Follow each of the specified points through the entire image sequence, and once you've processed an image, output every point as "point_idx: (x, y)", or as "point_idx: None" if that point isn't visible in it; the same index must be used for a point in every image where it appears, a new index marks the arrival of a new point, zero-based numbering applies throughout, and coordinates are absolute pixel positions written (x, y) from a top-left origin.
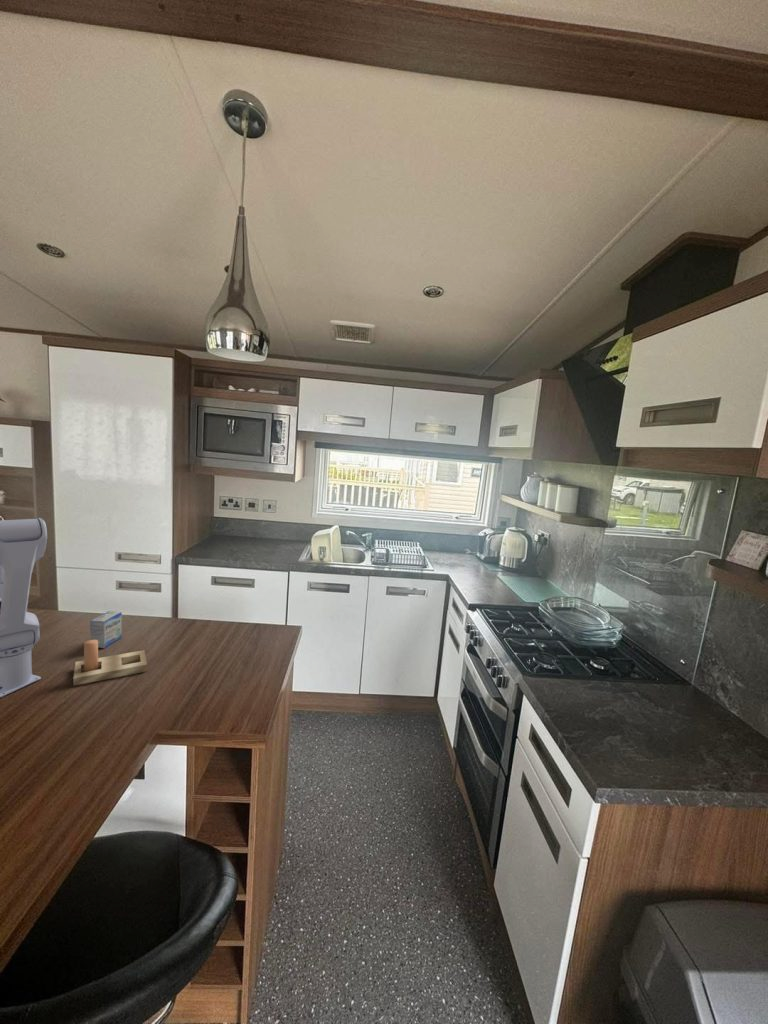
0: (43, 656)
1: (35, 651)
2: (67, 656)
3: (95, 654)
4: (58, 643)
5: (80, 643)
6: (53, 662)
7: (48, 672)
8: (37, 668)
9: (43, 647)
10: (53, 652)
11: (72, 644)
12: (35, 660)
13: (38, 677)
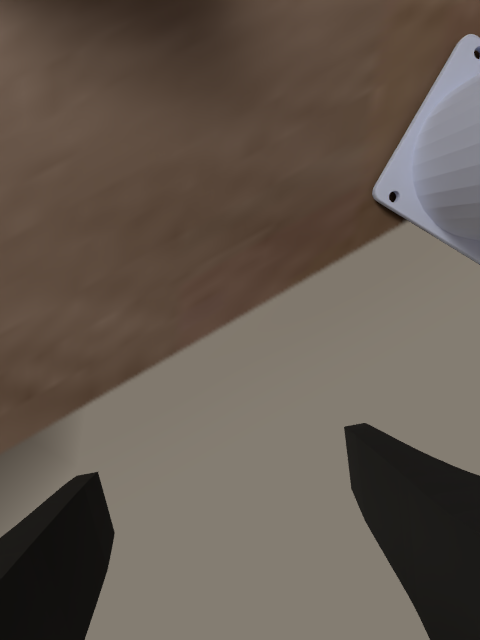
0: (191, 170)
1: (127, 248)
2: (195, 24)
3: None
4: (15, 173)
5: (5, 26)
6: (269, 73)
7: (386, 40)
8: (332, 127)
9: (75, 232)
10: (140, 139)
11: (24, 75)
12: (238, 188)
13: (470, 45)
